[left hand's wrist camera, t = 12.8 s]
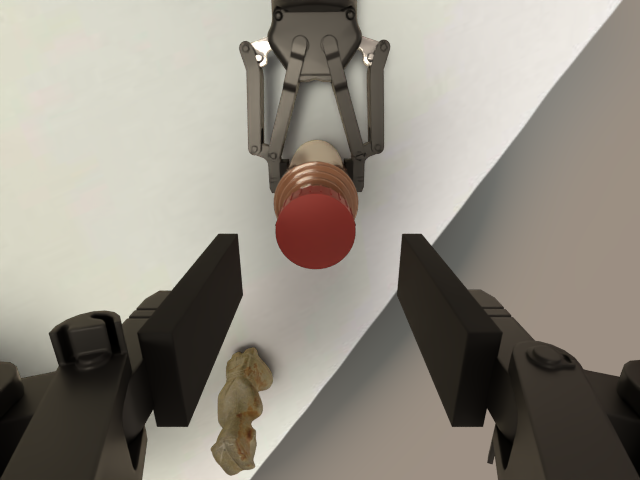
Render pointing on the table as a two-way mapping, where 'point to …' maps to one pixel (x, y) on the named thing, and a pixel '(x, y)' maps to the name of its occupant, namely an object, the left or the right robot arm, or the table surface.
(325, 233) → the cap
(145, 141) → the table surface
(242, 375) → the sculpture
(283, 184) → the bottle
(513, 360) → the left robot arm
